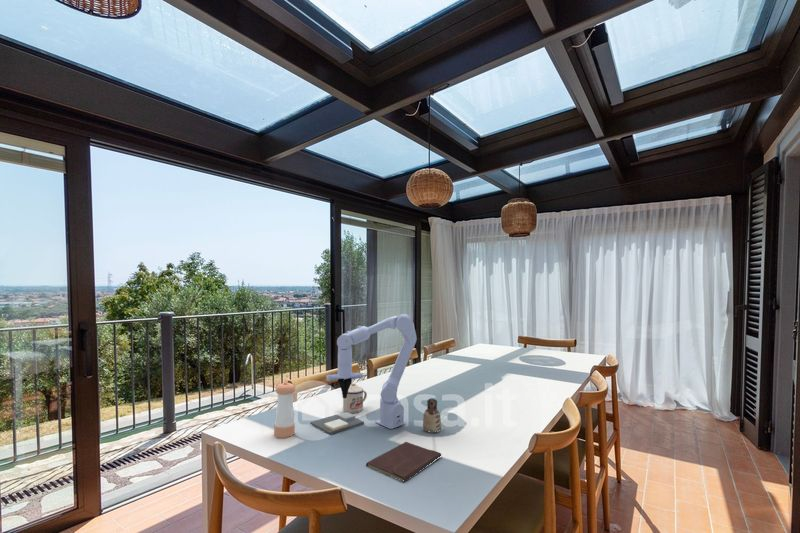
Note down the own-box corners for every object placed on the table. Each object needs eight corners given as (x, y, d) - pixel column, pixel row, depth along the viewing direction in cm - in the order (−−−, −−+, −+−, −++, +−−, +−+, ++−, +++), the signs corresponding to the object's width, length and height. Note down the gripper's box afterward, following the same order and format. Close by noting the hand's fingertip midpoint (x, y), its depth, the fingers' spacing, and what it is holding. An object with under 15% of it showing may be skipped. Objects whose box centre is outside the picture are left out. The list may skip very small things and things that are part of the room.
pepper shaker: (273, 431, 141) (275, 380, 142) (293, 429, 144) (294, 378, 145) (274, 439, 135) (275, 385, 135) (295, 436, 137) (296, 383, 138)
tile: (339, 422, 150) (348, 426, 145) (324, 426, 145) (333, 431, 140) (339, 419, 150) (348, 423, 145) (324, 423, 145) (333, 428, 140)
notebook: (366, 467, 116) (366, 460, 116) (405, 446, 132) (405, 440, 132) (404, 484, 107) (404, 477, 107) (441, 459, 122) (441, 452, 122)
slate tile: (355, 418, 153) (355, 415, 153) (345, 421, 150) (345, 418, 150) (346, 414, 158) (346, 411, 158) (336, 417, 154) (336, 414, 154)
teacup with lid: (350, 415, 160) (351, 387, 160) (338, 409, 166) (338, 382, 167) (372, 408, 168) (372, 382, 168) (360, 403, 175) (360, 378, 175)
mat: (363, 423, 150) (364, 421, 150) (330, 434, 139) (330, 432, 139) (343, 414, 160) (343, 412, 160) (310, 424, 149) (310, 422, 149)
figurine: (442, 427, 148) (442, 396, 148) (439, 434, 141) (439, 401, 142) (424, 425, 150) (425, 394, 150) (421, 431, 143) (421, 400, 143)
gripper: (327, 366, 147) (327, 402, 146) (364, 364, 151) (364, 398, 150) (326, 363, 154) (325, 396, 153) (361, 361, 158) (360, 393, 157)
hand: (344, 397), depth 152 cm, fingers closed
